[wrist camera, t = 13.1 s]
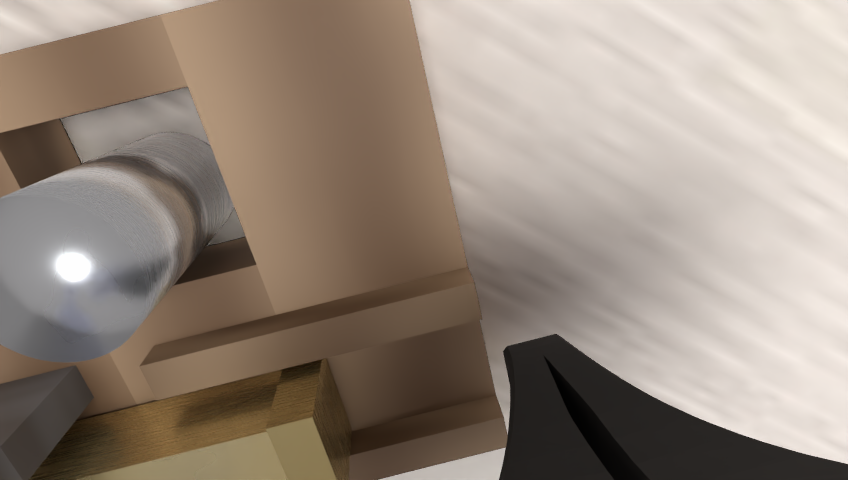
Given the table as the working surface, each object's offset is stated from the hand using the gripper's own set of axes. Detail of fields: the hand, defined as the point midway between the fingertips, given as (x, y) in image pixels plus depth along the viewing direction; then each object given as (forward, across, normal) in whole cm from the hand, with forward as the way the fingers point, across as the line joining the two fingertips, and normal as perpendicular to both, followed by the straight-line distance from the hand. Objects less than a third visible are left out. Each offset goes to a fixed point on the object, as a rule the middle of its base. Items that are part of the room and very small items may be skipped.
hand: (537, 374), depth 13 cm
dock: (+4, +8, -4) cm, 9 cm away
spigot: (+4, +8, -6) cm, 11 cm away
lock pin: (+1, +9, 0) cm, 9 cm away
